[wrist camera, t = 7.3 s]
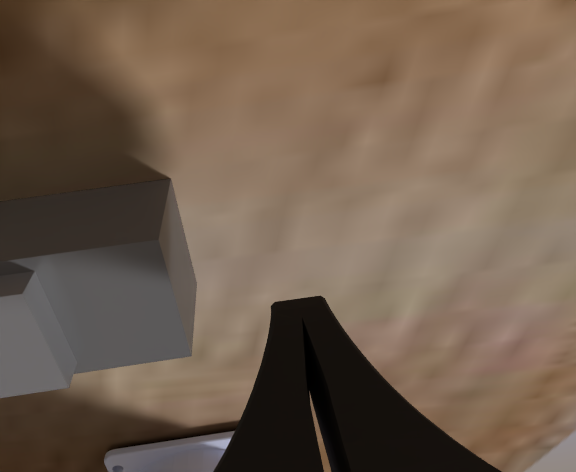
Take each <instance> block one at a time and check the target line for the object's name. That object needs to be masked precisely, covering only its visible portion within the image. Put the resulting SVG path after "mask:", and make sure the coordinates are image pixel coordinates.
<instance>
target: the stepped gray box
mask: <svg viewBox="0 0 576 472" xmlns="http://www.w3.org/2000/svg"><path fill="white" fill-rule="evenodd" d="M196 288H197V282H196V278H195V274H194V270H193V266H192V262H191V258H190V254H189V250H188V246H187V242H186V237H185V233H184V229H183V225H182V221H181V217H180V213H179V209H178V205H177V201H176V197H175V193H174V189H173V185H172V181H171V179H164V180H156V181H149V182H141V183H134V184H127V185H119V186H112V187H104V188H97V189H89V190H82V191H75V192H67V193H60V194H52V195H45V196H38V197H30V198H23V199H15V200H8V201H0V398H5V397H12V396H18V395H25V394H32V393H38V392H45V391H51V390H58V389H65V388H69V386H70V383H71V380H72V377H73V374H76V373H83V372H90V371H96V370H103V369H110V368H116V367H123V366H129V365H136V364H143V363H149V362H156V361H163V360H169V359H176V358H183V357H189V356H192V343H193V329H194V315H195V301H196Z"/></svg>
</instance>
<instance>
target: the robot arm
mask: <svg viewBox="0 0 576 472" xmlns="http://www.w3.org/2000/svg"><path fill="white" fill-rule="evenodd" d="M309 391H310V394H309ZM310 395H311V398H312V402H313V406H314V409H315V413H316V417H317V420H318V424H319V427H320V431H321V435H322V438H323V442H324V446H325V449H326V453H327V456H328V460H329V464H330V467H331V472H501V471H500V470H498V469H496V468H495V467H493V466H492V465H490V464H488V463H487V462H485V461H484V460H482V459H481V458H479V457H478V456H476V455H475V454H474V453H472V452H471V451H469V450H468V449H466V448H465V447H464V446H462V445H461V444H459V443H458V442H457V441H455V440H454V439H453V438H451V437H450V436H449V435H447V434H446V433H445V432H444V431H442V430H441V429H440V428H439V427H437V426H436V425H435V424H434V423H432V422H431V421H430V420H429V419H427V418H426V417H425V416H424V415H422V414H421V413H420V412H419V411H418V410H417V409H416V408H414V407H413V406H412V405H411V404H410V403H409V402H408V401H407V400H405V399H404V398H403V397H402V396H401V395H400V394H399V393H398V392H397V391H396V390H395V389H394V388H393V387H392V386H391V385H390V384H389V383H388V382H387V381H386V380H385V379H384V378H383V377H382V376H381V375H380V373H379V372H378V371H377V370H376V369H375V368H374V367H373V366H372V364H371V363H370V362H369V361H368V360H367V359H366V357H365V356H364V355H363V354H362V353H361V351H360V350H359V349H358V348H357V346H356V345H355V344H354V343H353V341H352V340H351V339H350V337H349V336H348V335H347V333H346V332H345V331H344V329H343V328H342V326H341V325H340V323H339V322H338V320H337V319H336V317H335V316H334V314H333V313H332V311H331V309H330V307H329V306H328V304H327V302H326V300H325V298H323V297H322V296H315V297H308V298H300V299H293V300H286V301H279V302H274V303H273V304H272V306H271V321H270V328H269V334H268V339H267V343H266V347H265V351H264V355H263V359H262V363H261V366H260V369H259V372H258V375H257V378H256V381H255V384H254V387H253V390H252V393H251V395H250V398H249V400H248V403H247V405H246V408H245V410H244V412H243V415H242V417H241V419H240V422H239V424H238V426H237V428H236V430H235V431H230V432H224V433H217V434H211V435H204V436H198V437H191V438H184V439H178V440H171V441H165V442H158V443H152V444H145V445H138V446H132V447H125V448H119V449H113V450H110V451H108V452H107V453H106V455H105V458H104V464H105V466H106V468H107V470H108V472H324V470H323V465H322V460H321V456H320V451H319V446H318V441H317V436H316V431H315V426H314V421H313V416H312V411H311V406H310Z"/></svg>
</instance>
